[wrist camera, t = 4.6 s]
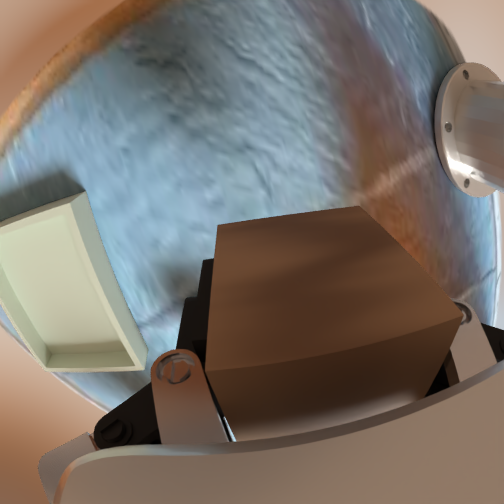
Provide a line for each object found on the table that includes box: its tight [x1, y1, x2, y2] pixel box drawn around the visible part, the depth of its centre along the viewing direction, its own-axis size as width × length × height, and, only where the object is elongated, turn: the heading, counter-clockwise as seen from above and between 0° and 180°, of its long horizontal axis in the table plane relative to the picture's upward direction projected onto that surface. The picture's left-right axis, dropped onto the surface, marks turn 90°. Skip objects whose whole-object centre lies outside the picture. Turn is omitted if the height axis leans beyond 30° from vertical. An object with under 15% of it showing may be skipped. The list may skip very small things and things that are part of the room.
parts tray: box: [0, 191, 148, 372], centre depth 19 cm, size 12×15×3 cm
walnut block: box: [205, 206, 464, 441], centre depth 8 cm, size 5×5×6 cm
